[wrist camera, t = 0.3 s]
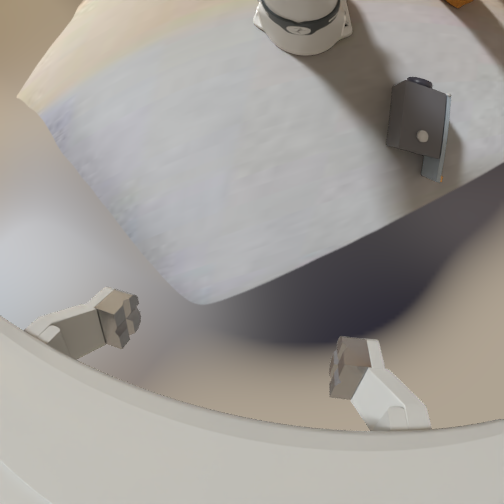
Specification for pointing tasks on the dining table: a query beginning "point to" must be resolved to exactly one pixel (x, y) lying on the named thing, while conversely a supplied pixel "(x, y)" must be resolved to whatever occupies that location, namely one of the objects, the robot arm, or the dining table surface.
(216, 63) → the dining table surface
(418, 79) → the camera housing
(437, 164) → the side door
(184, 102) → the dining table surface
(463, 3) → the coffee package
